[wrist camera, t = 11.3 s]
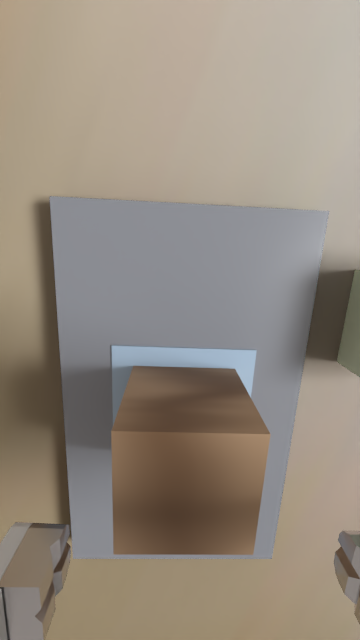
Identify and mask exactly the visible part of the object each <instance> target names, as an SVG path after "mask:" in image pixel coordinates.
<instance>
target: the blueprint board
mask: <svg viewBox="0 0 360 640" xmlns="http://www.w3.org/2000/svg"><path fill="white" fill-rule="evenodd" d="M50 211H51V226H52V242H53V257H54V273H55V288H56V303H57V319H58V334H59V349H60V365H61V380H62V395H63V411H64V426H65V442H66V457H67V472H68V488H69V503H70V518H71V534H72V549H73V559H272V554H273V548H274V542H275V536H276V530H277V524H278V517H279V511H280V505H281V499H282V493H283V487H284V481H285V475H286V469H287V463H288V457H289V451H290V445H291V439H292V433H293V427H294V421H295V415H296V409H297V403H298V396H299V390H300V384H301V378H302V372H303V366H304V360H305V354H306V348H307V342H308V336H309V330H310V324H311V318H312V312H313V306H314V300H315V294H316V288H317V282H318V276H319V269H320V263H321V257H322V251H323V245H324V239H325V233H326V227H327V221H328V215H329V211H317V210H298V209H279V208H261V207H242V206H223V205H204V204H186V203H167V202H148V201H129V200H111V199H92V198H73V197H54V196H50ZM133 366H159V367H193V368H228V369H235V370H236V372H237V373H238V375H239V377H240V379H241V381H242V383H243V384H244V386H245V388H246V390H247V392H248V394H249V395H250V397H251V399H252V401H253V403H254V405H255V406H256V408H257V410H258V412H259V414H260V416H261V418H262V419H263V421H264V423H265V425H266V427H267V429H268V430H269V432H270V434H271V435H270V442H269V449H268V456H267V463H266V470H265V477H264V484H263V491H262V498H261V505H260V512H259V519H258V526H257V533H256V540H255V547H254V553H253V555H114V554H113V499H112V444H111V430H112V427H113V425H114V422H115V419H116V416H117V413H118V410H119V407H120V404H121V401H122V398H123V395H124V392H125V389H126V386H127V383H128V380H129V377H130V374H131V371H132V368H133Z"/></svg>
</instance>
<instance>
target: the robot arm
mask: <svg viewBox="0 0 360 640" xmlns="http://www.w3.org/2000/svg"><path fill="white" fill-rule="evenodd" d="M69 535H70V531H69V525H64V524H46V523H24V522H16V523H15V524H14V525H13V526H12V527H11V528H10V529H9V530H8V532H7V534H6V535H5V537H4V538H3V540H2V542H1V543H0V640H45V638H46V635H47V632H48V630H49V627H50V624H51V621H52V618H53V615H54V612H55V609H56V608H55V596H56V595H57V594H58V593H59V592H60V591H61V590H62V589H63V586H64V583H65V580H66V577H67V572H68V568H69V563H70V554H71V550H70V545H69V544H68V543H67V540H68V537H69ZM338 541H339V543H340V545H341V546H342V547H340V548H339V549H338V550H337V551H336V552H335V558H334V566H335V572H336V576H337V579H338V581H339V584H340V586H341V588H342V590H343V592H344V594H345V595H346V596H347V597H348V598H349V599H350V600H351V601H352V602H353V603H355V613H354V614H355V616H356V618H357V620H358V622H359V624H360V531H342V532H341V533H340V534H339V539H338Z"/></svg>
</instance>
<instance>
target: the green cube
mask: <svg viewBox="0 0 360 640" xmlns="http://www.w3.org/2000/svg"><path fill="white" fill-rule="evenodd" d="M337 362H338V363H339V364H341V365H342V366H344V367H345V368H347V369H348V370H350V371H351V372H353V373H354V374H356V375H357V376H359V377H360V270H355V272H354V277H353V282H352V287H351V292H350V297H349V302H348V307H347V312H346V317H345V322H344V328H343V333H342V338H341V343H340V348H339V353H338V358H337Z"/></svg>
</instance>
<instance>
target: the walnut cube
mask: <svg viewBox="0 0 360 640" xmlns="http://www.w3.org/2000/svg"><path fill="white" fill-rule="evenodd" d="M270 435H271V434H270V432H269V430H268V429H267V427H266V425H265V423H264V421H263V419H262V418H261V416H260V414H259V412H258V410H257V408H256V406H255V405H254V403H253V401H252V399H251V397H250V395H249V394H248V392H247V390H246V388H245V386H244V384H243V383H242V381H241V379H240V377H239V375H238V373H237V372H236V370H235V369H228V368H193V367H159V366H133V368H132V371H131V374H130V377H129V380H128V383H127V386H126V389H125V392H124V395H123V398H122V401H121V404H120V407H119V410H118V413H117V416H116V419H115V422H114V425H113V427H112V430H111V444H112V499H113V554H114V555H253V553H254V547H255V540H256V533H257V526H258V519H259V512H260V505H261V498H262V491H263V484H264V477H265V470H266V463H267V456H268V449H269V442H270Z"/></svg>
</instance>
